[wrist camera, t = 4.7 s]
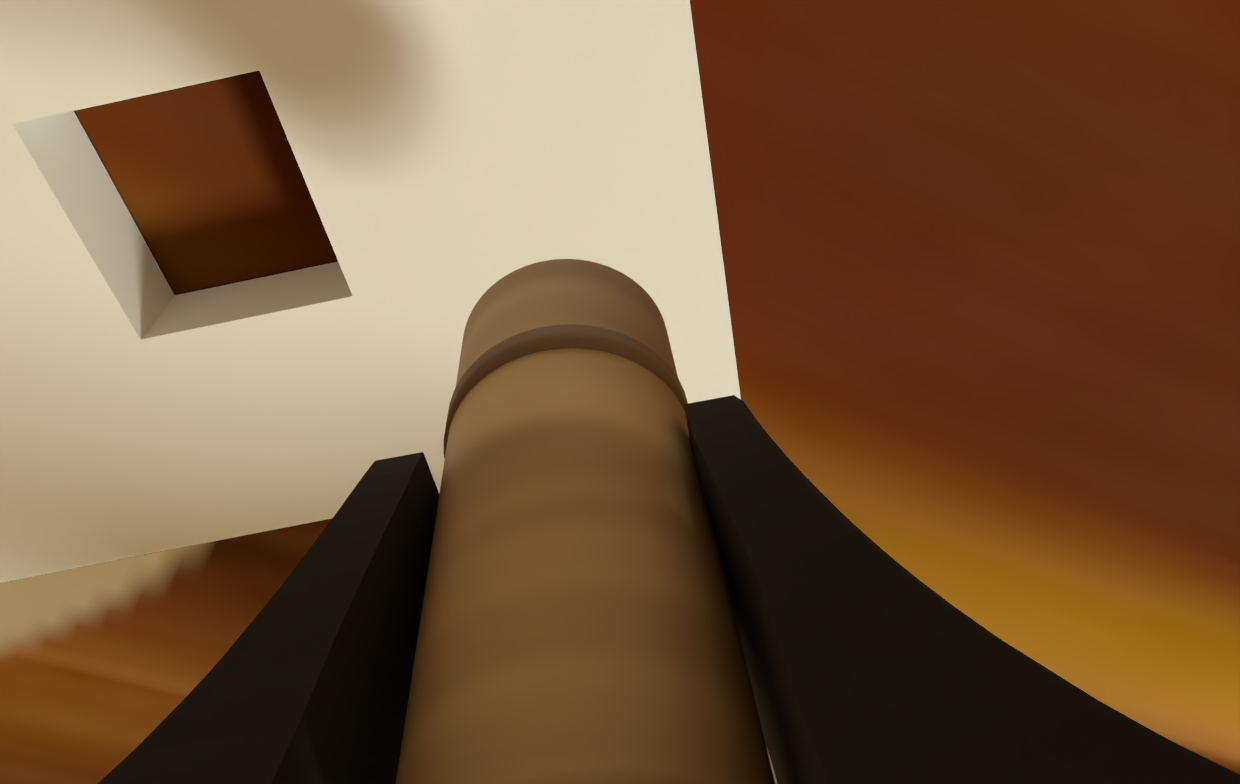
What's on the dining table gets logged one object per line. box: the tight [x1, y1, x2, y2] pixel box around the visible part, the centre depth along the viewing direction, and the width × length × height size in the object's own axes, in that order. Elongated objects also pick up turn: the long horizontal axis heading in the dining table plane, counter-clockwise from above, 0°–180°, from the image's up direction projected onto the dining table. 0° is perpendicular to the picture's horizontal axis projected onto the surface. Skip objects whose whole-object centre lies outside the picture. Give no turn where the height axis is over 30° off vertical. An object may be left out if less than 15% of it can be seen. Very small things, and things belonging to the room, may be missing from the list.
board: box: [0, 0, 741, 583], centre depth 17 cm, size 16×20×2 cm
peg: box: [396, 259, 775, 784], centre depth 10 cm, size 3×3×8 cm
